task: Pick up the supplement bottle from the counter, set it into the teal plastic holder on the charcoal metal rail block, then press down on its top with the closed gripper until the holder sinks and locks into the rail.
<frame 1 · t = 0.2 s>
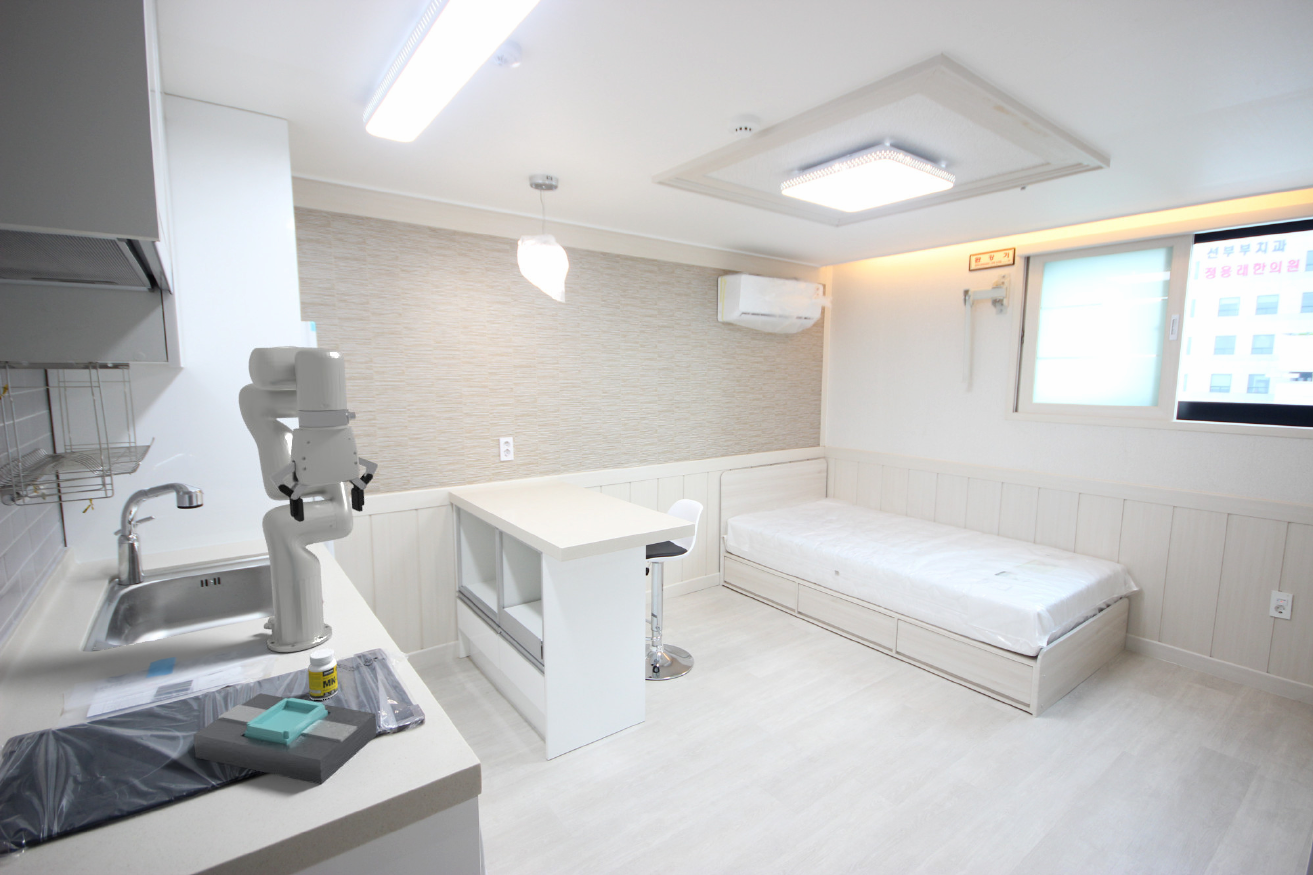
hand: (329, 515, 104), 36 cm above the worktop, tool pointing down, fingers open, 9 cm apart
rail block: (288, 745, 96), on the worktop
supplement bottle: (324, 695, 111), on the worktop
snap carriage: (287, 723, 96), point 4 cm above the worktop, slide at 0.0 cm
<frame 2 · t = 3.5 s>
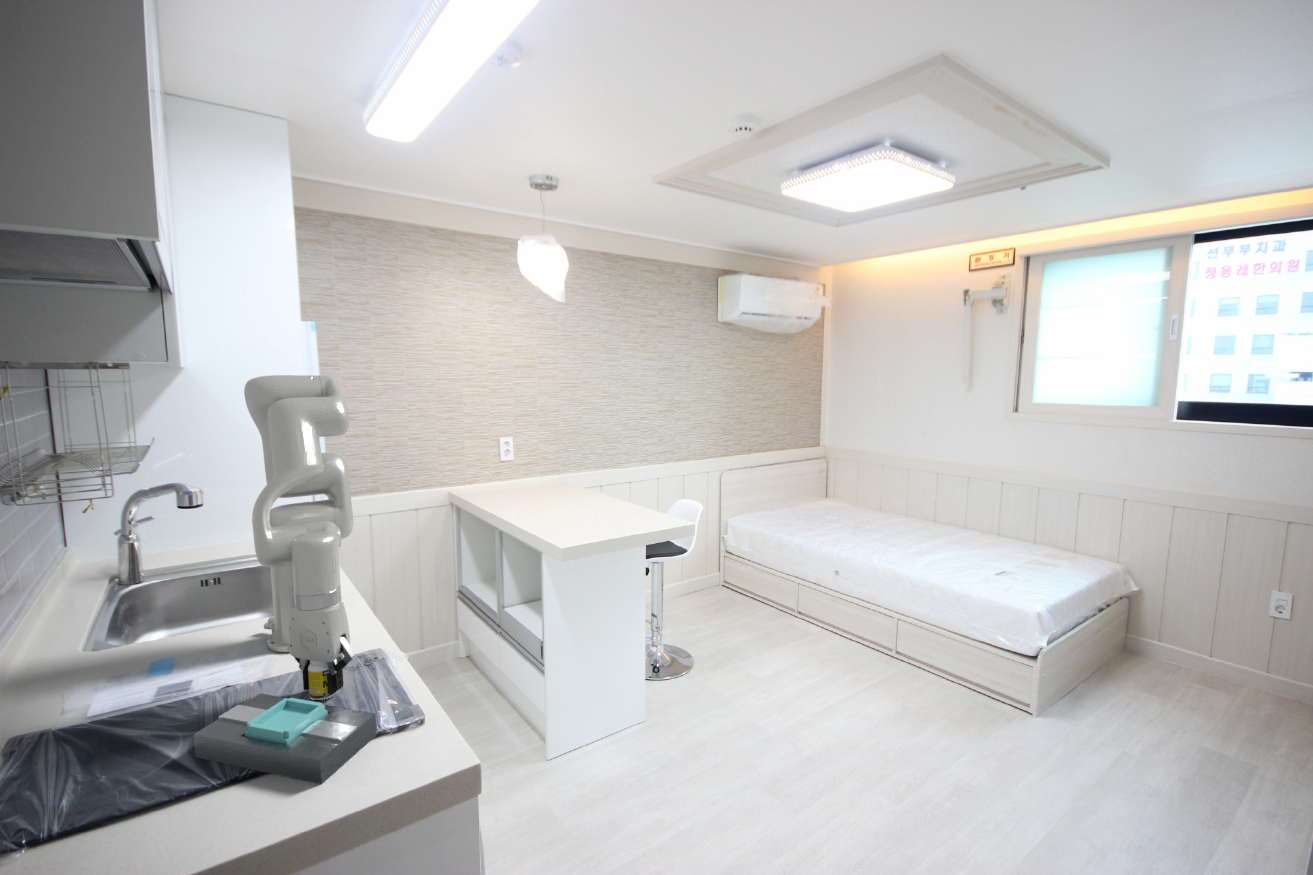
hand: (323, 687, 111), 1 cm above the worktop, tool pointing down, fingers closed on supplement bottle, 4 cm apart
supplement bottle: (324, 695, 111), on the worktop, touching gripper
everything else where it was.
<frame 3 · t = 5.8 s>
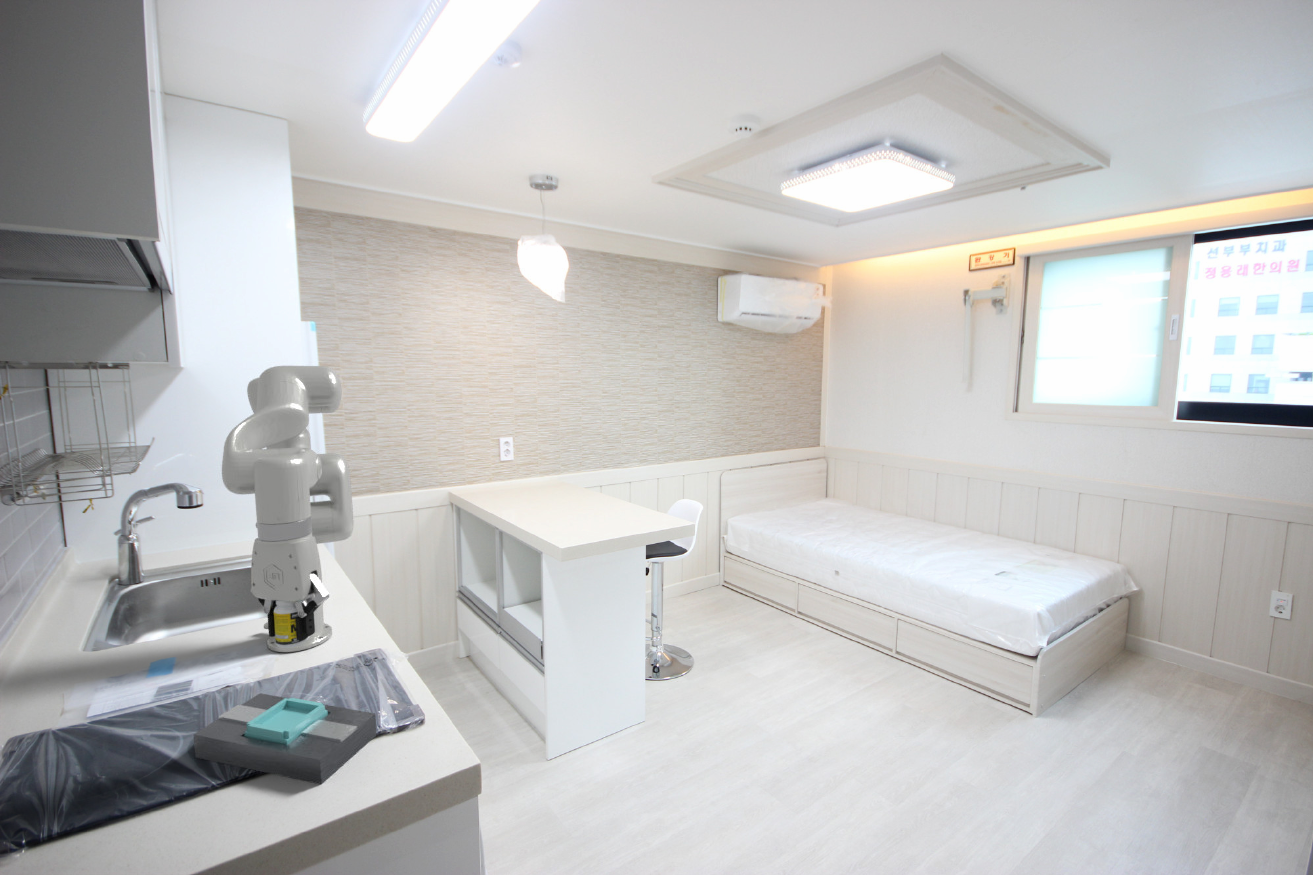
hand: (292, 633, 97), 18 cm above the worktop, tool pointing down, fingers closed on supplement bottle, 4 cm apart
supplement bottle: (292, 643, 98), point 16 cm above the worktop, touching gripper
everything else where it was.
when the fingers open (8 cm above the worktop, at t = 8.2 s): supplement bottle drops 3 cm, resting on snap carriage.
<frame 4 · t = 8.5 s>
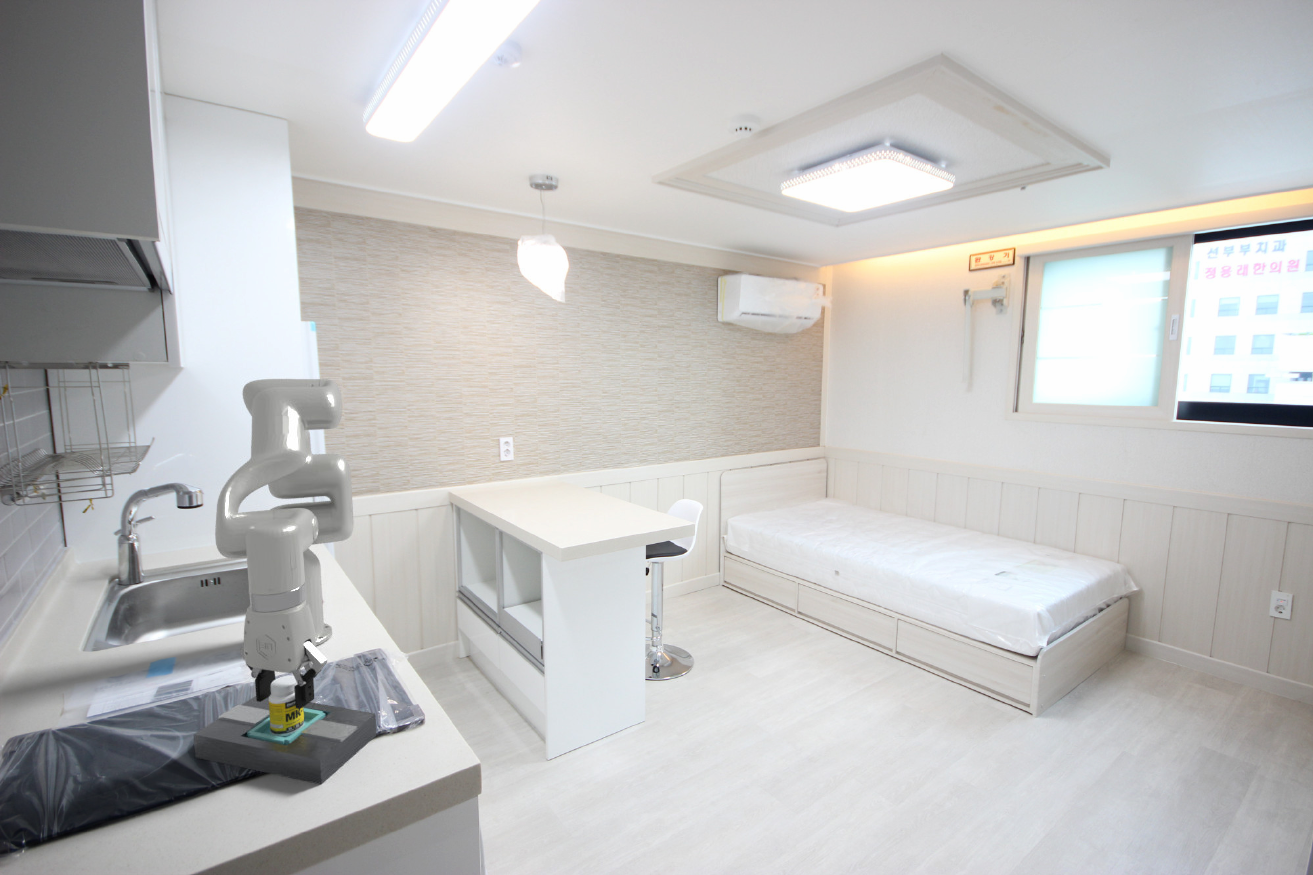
hand: (285, 699, 95), 8 cm above the worktop, tool pointing down, fingers open, 7 cm apart
supplement bottle: (288, 729, 96), point 3 cm above the worktop, touching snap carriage
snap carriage: (287, 731, 96), point 3 cm above the worktop, slide at 1.5 cm, touching supplement bottle, rail block
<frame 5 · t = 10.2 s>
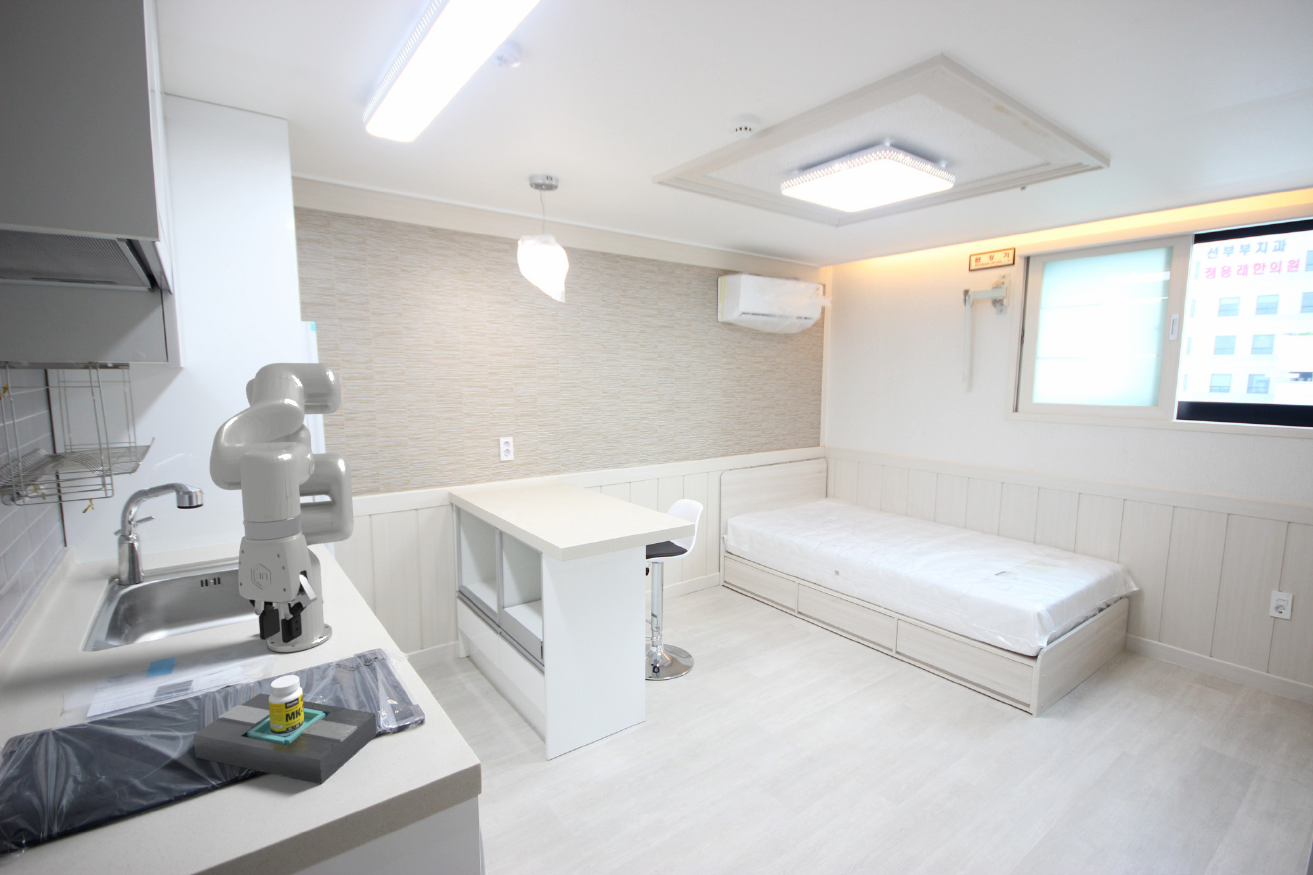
hand: (281, 636, 94), 19 cm above the worktop, tool pointing down, fingers open, 3 cm apart
nothing on the worktop moved.
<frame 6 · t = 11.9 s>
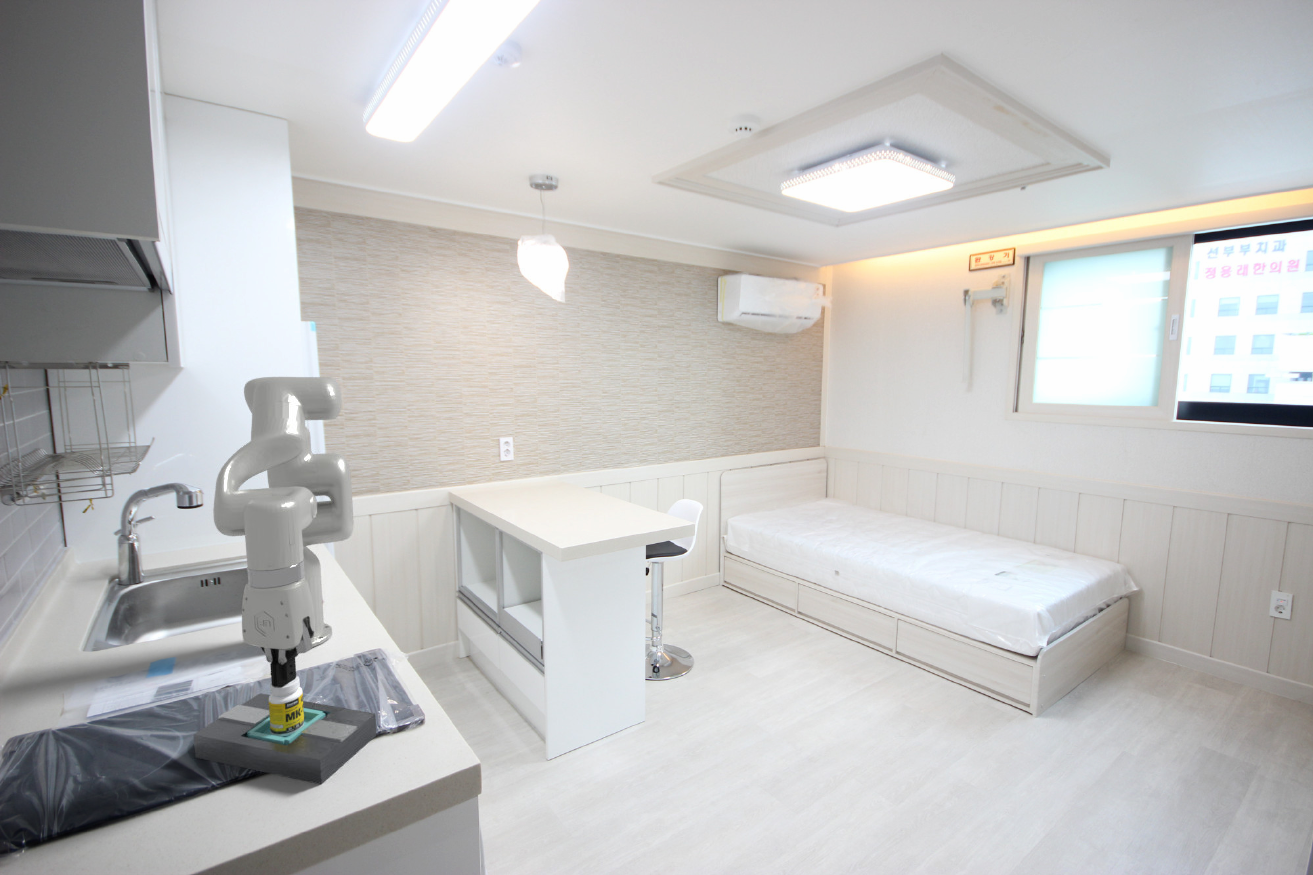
hand: (284, 682, 95), 11 cm above the worktop, tool pointing down, fingers closed
supplement bottle: (288, 729, 96), point 3 cm above the worktop, touching gripper, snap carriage
everything else where it was.
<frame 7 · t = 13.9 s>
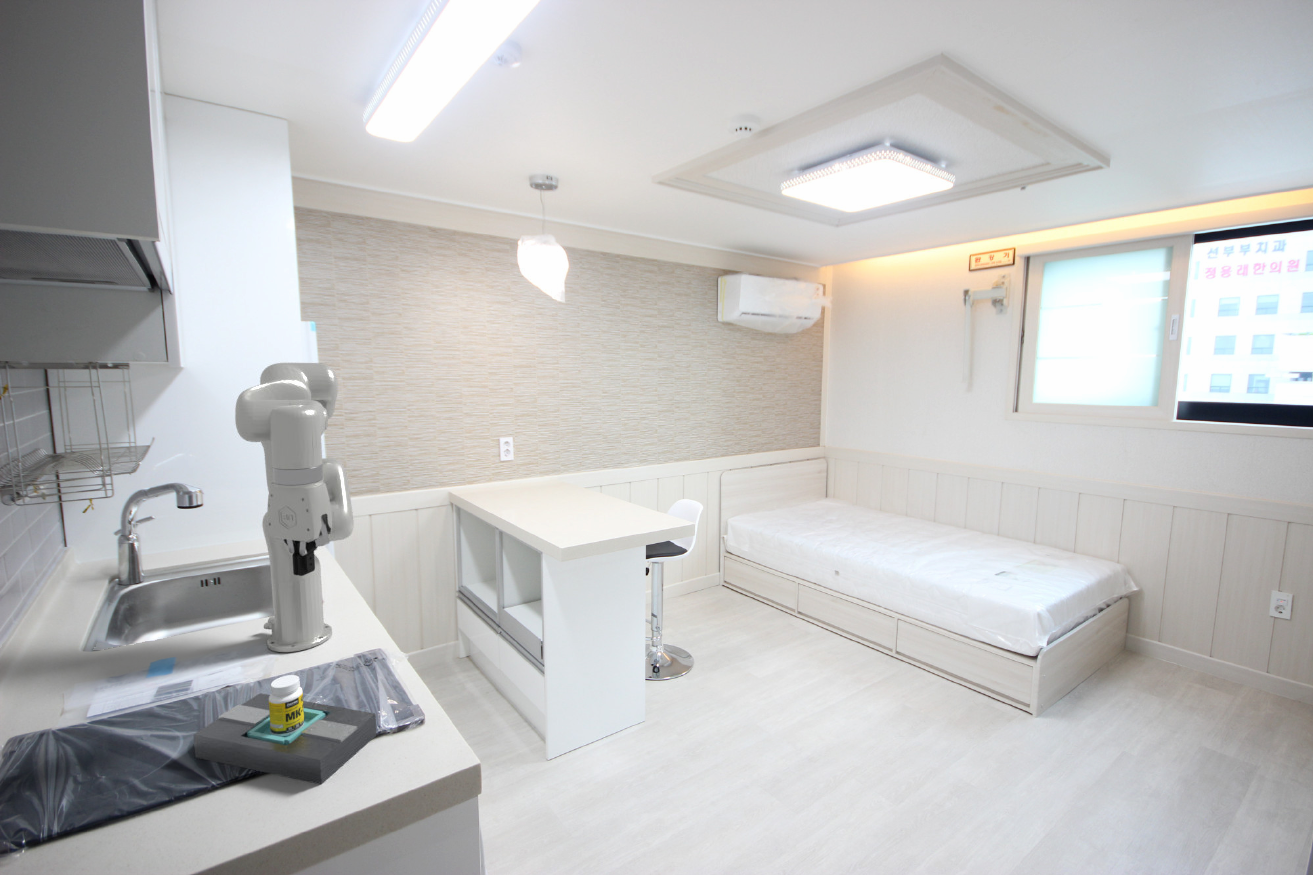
hand: (304, 572, 106), 25 cm above the worktop, tool pointing down, fingers closed
supplement bottle: (288, 729, 96), point 3 cm above the worktop, touching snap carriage
everything else where it was.
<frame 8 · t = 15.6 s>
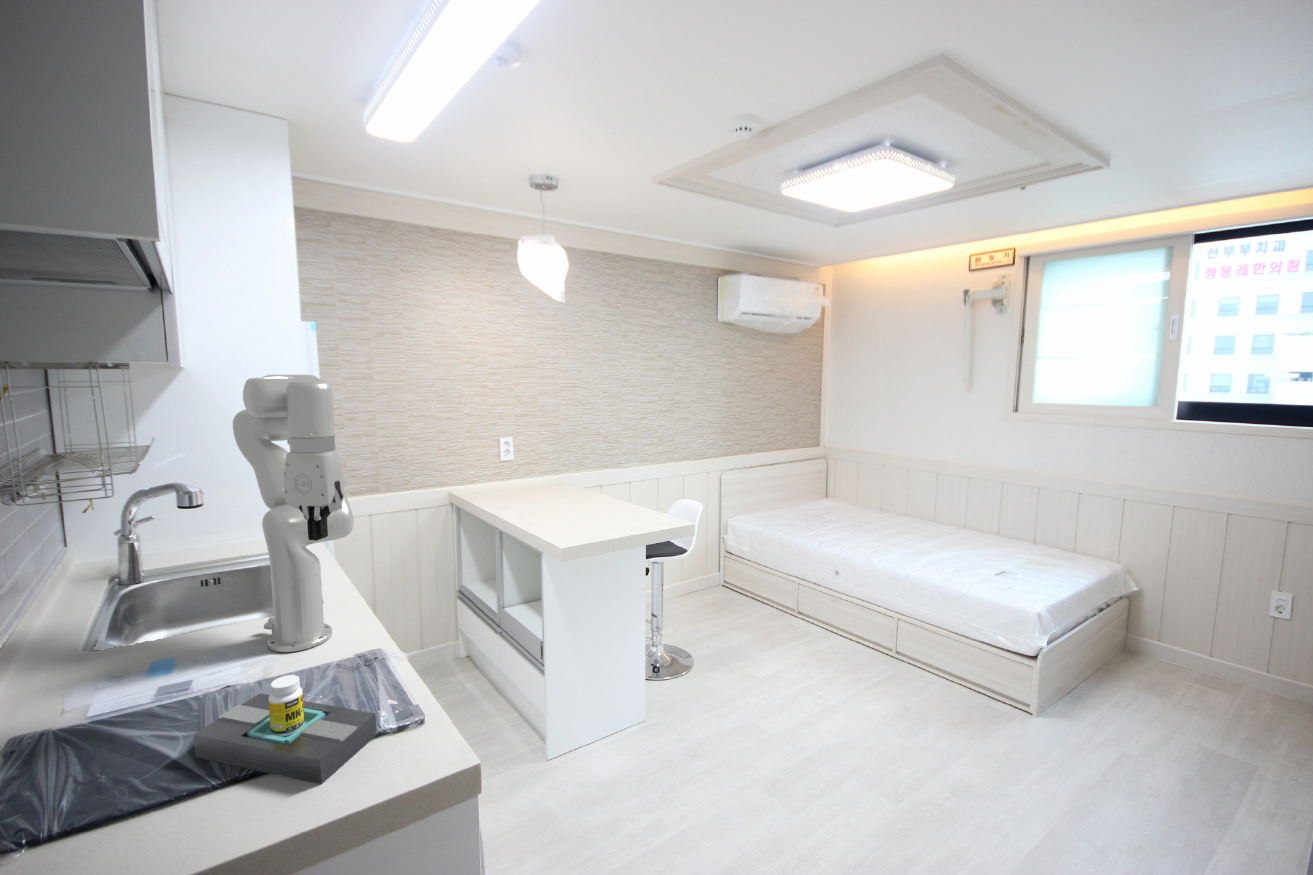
hand: (318, 538, 113), 29 cm above the worktop, tool pointing down, fingers closed
nothing on the worktop moved.
at the end: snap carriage slide at 1.5 cm; supplement bottle 0.1 cm off-centre on the rail block, point 2.8 cm above the rail block's base; supplement bottle tilted 0° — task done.
